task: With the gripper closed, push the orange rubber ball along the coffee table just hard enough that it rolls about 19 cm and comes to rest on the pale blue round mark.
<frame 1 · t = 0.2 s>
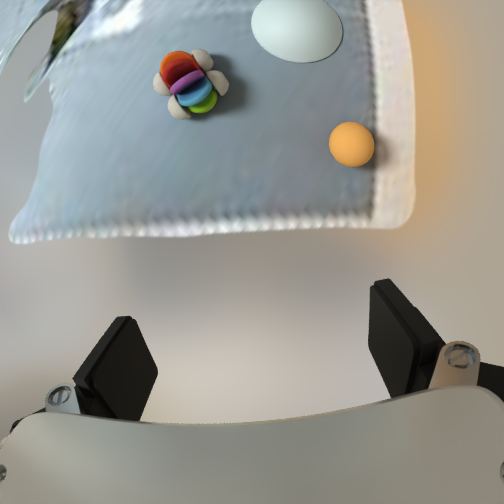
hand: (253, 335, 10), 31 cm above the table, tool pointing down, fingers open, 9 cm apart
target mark: (297, 24, 30), on the table
ball: (351, 144, 33), on the table
multicolored petal flower toy: (193, 86, 34), on the table
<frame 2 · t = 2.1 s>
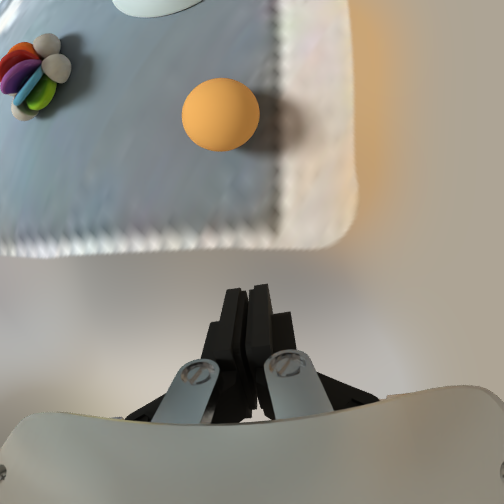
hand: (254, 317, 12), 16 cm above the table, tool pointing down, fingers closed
ball: (220, 114, 20), on the table
multicolored petal flower toy: (46, 78, 21), on the table
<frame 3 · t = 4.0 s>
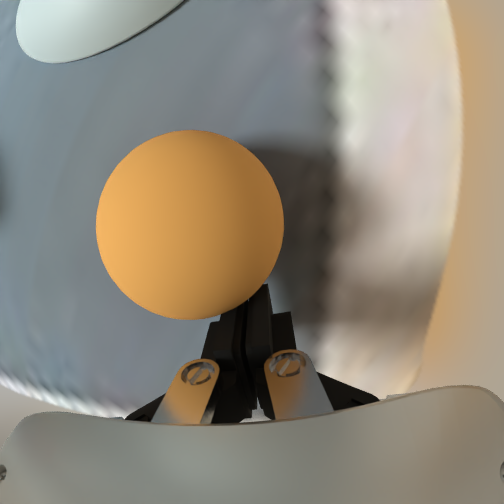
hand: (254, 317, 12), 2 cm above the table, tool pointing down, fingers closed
ball: (189, 224, 9), on the table, touching gripper
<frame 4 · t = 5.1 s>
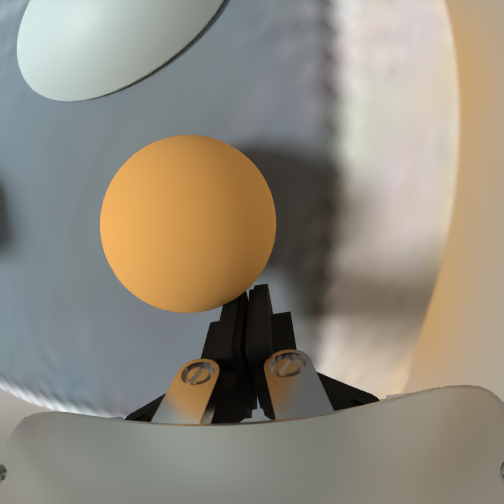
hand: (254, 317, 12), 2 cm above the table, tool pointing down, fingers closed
ball: (187, 223, 10), on the table, touching gripper
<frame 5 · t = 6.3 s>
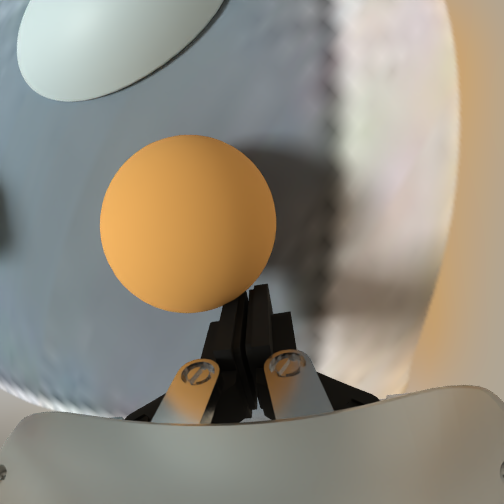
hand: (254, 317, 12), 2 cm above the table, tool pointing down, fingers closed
ball: (187, 223, 10), on the table, touching gripper
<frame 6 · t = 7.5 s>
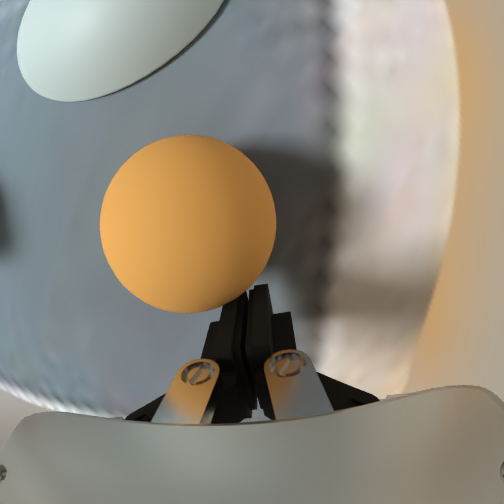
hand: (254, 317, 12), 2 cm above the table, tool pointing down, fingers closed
ball: (187, 223, 10), on the table, touching gripper
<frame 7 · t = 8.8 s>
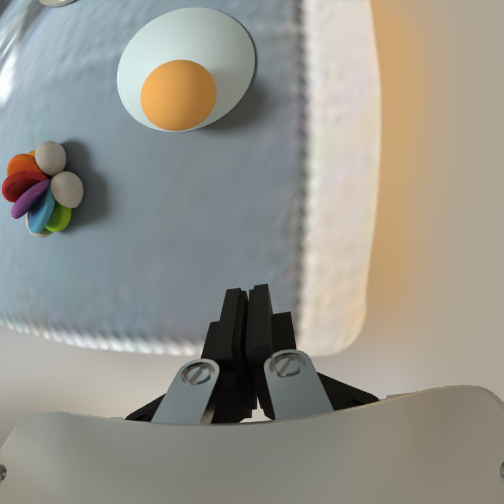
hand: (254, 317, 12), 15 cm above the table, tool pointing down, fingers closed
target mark: (181, 64, 21), on the table
ball: (178, 95, 19), on the table
multicolored petal flower toy: (56, 186, 25), on the table
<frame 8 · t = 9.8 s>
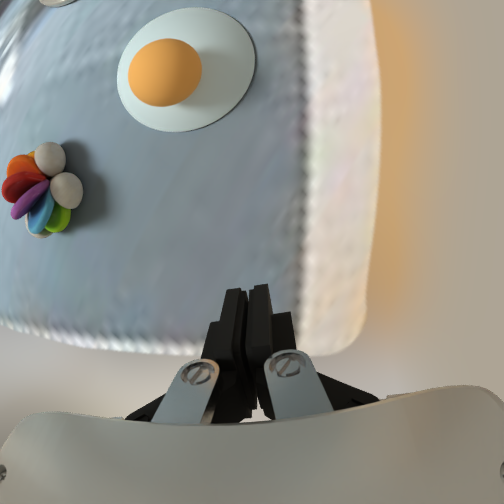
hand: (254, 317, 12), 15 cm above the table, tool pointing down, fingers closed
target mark: (181, 64, 21), on the table
ball: (164, 72, 19), on the table
multicolored petal flower toy: (55, 187, 25), on the table
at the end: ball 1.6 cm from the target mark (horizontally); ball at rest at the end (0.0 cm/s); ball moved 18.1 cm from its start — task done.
